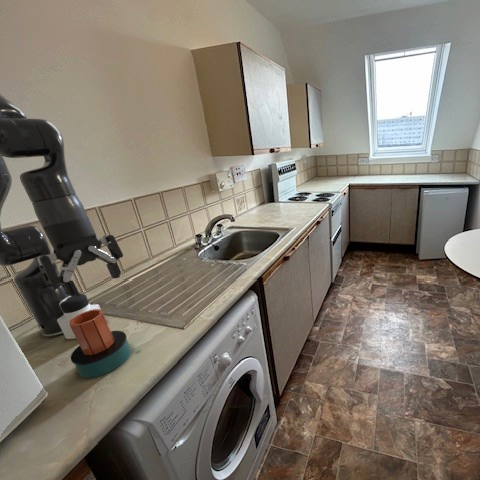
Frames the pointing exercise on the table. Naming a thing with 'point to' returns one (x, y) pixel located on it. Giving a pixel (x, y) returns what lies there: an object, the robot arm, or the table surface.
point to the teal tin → (102, 357)
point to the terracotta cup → (92, 331)
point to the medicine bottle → (73, 312)
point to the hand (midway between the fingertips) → (97, 286)
